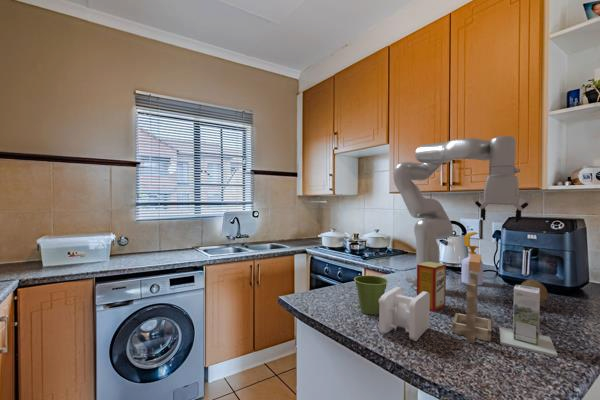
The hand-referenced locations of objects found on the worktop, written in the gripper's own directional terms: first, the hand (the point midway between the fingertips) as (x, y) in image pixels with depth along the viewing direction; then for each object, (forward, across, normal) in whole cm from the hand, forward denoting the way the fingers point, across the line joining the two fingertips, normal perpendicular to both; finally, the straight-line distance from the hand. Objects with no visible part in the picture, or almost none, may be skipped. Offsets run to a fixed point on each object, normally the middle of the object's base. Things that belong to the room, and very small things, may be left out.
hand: (500, 221), depth 104 cm
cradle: (+32, +6, +22) cm, 40 cm away
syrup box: (+32, -7, +21) cm, 39 cm away
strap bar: (+16, +7, +4) cm, 18 cm away
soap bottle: (+33, +10, -40) cm, 53 cm away
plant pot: (+33, +37, +25) cm, 56 cm away
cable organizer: (+33, +23, +35) cm, 53 cm away
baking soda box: (+33, +20, +7) cm, 39 cm away
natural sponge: (+33, -11, -16) cm, 38 cm away
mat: (+32, -7, +21) cm, 39 cm away
